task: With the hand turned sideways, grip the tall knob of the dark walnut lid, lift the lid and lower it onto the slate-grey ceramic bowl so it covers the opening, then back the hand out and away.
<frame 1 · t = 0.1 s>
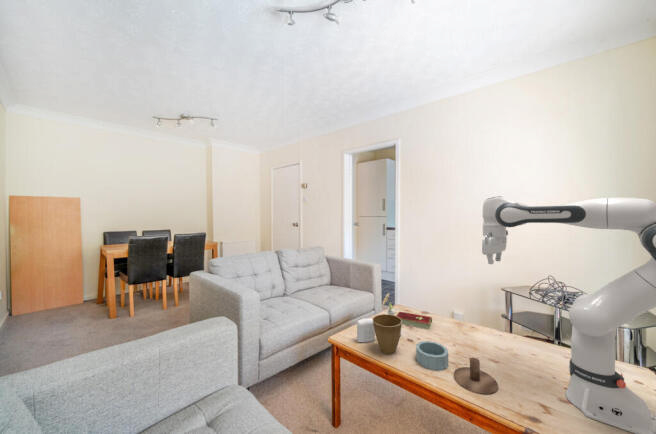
hand: (494, 262, 115), 48 cm above the table, tool pointing down, fingers open, 8 cm apart
walnut lid: (474, 381, 106), on the table
plant pot: (387, 350, 131), on the table
hardcover book: (413, 323, 162), on the table
photo printer: (366, 341, 141), on the table
flower in vase: (390, 334, 147), on the table
ceramic bowl: (431, 361, 120), on the table
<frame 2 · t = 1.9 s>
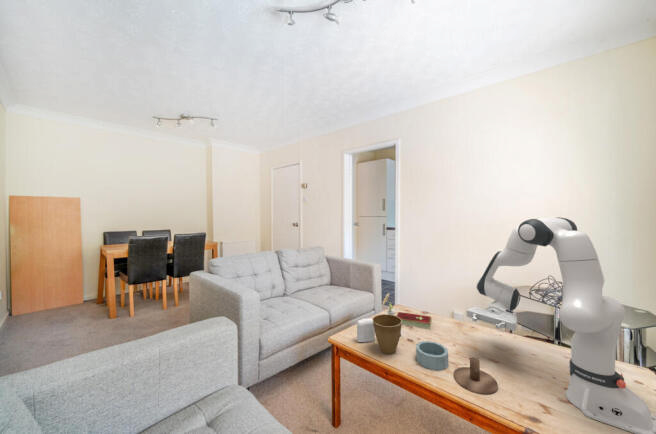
hand: (485, 323, 114), 21 cm above the table, tool horizontal, fingers open, 8 cm apart
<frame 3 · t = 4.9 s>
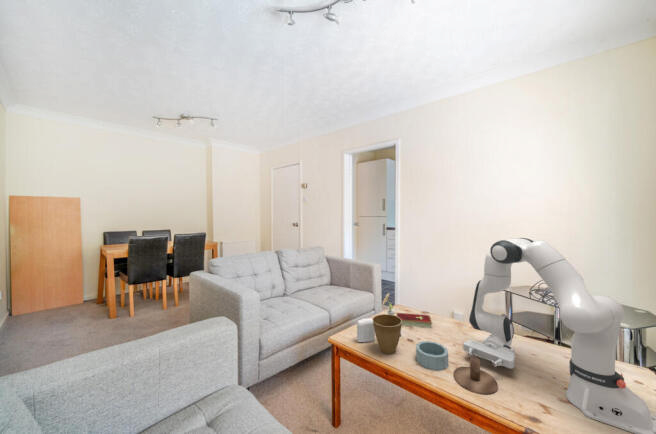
hand: (481, 359, 111), 6 cm above the table, tool horizontal, fingers open, 8 cm apart
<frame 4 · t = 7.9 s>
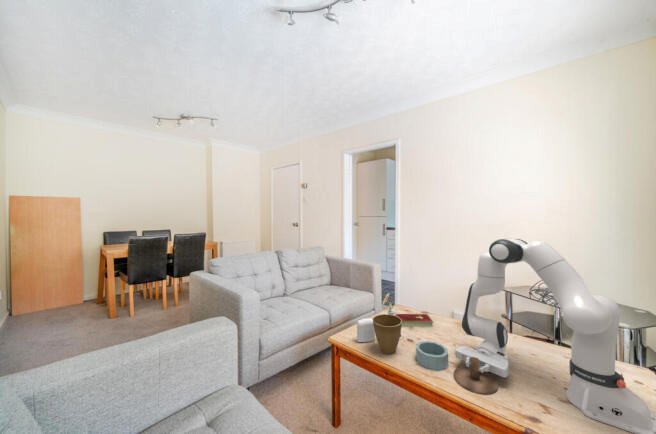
hand: (473, 367, 105), 6 cm above the table, tool horizontal, fingers closed on walnut lid, 4 cm apart
walnut lid: (474, 380, 106), on the table, touching gripper
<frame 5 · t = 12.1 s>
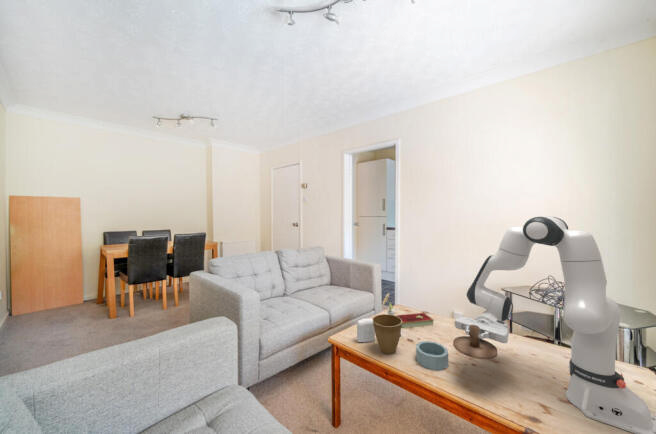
hand: (473, 334, 105), 20 cm above the table, tool horizontal, fingers closed on walnut lid, 4 cm apart
walnut lid: (474, 348, 106), point 14 cm above the table, touching gripper
when the fingers open (13 cm above the table, at t = 16.5 s): walnut lid drops 1 cm, resting on ceramic bowl.
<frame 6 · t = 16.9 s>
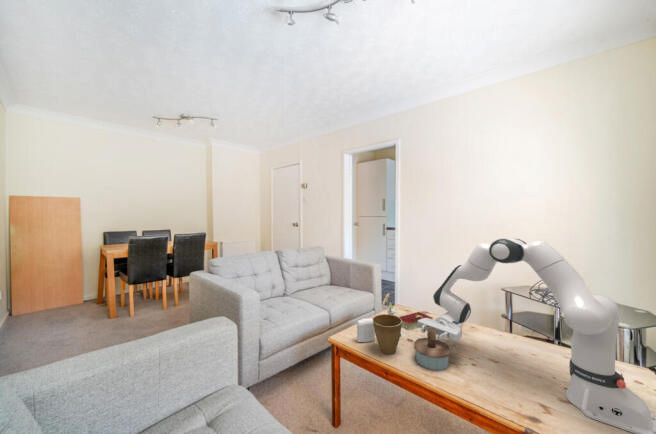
hand: (430, 333, 120), 13 cm above the table, tool horizontal, fingers open, 7 cm apart
walnut lid: (431, 348, 120), point 6 cm above the table, touching ceramic bowl
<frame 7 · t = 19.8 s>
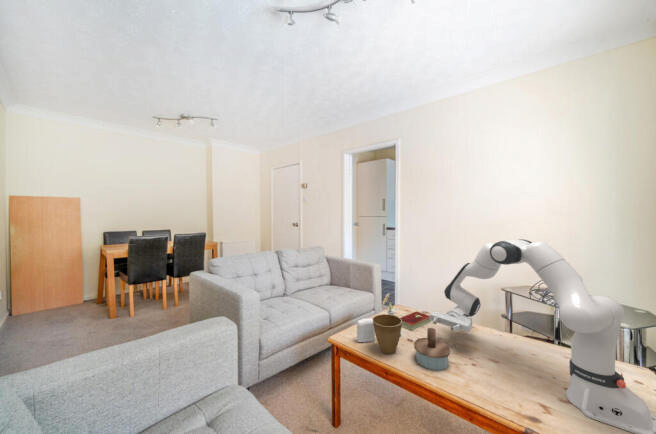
hand: (442, 325, 128), 14 cm above the table, tool horizontal, fingers open, 8 cm apart
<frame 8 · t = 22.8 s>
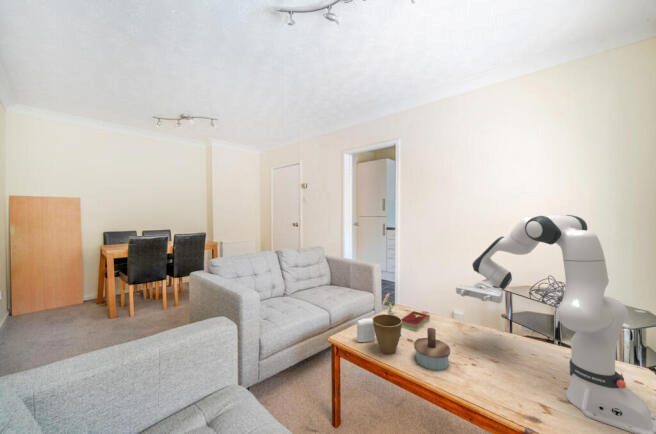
hand: (472, 296, 122), 30 cm above the table, tool horizontal, fingers open, 8 cm apart
at the end: walnut lid 0.0 cm off-centre on the ceramic bowl, point 6.0 cm above the ceramic bowl's base; walnut lid tilted 0°; the gripper is holding nothing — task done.
